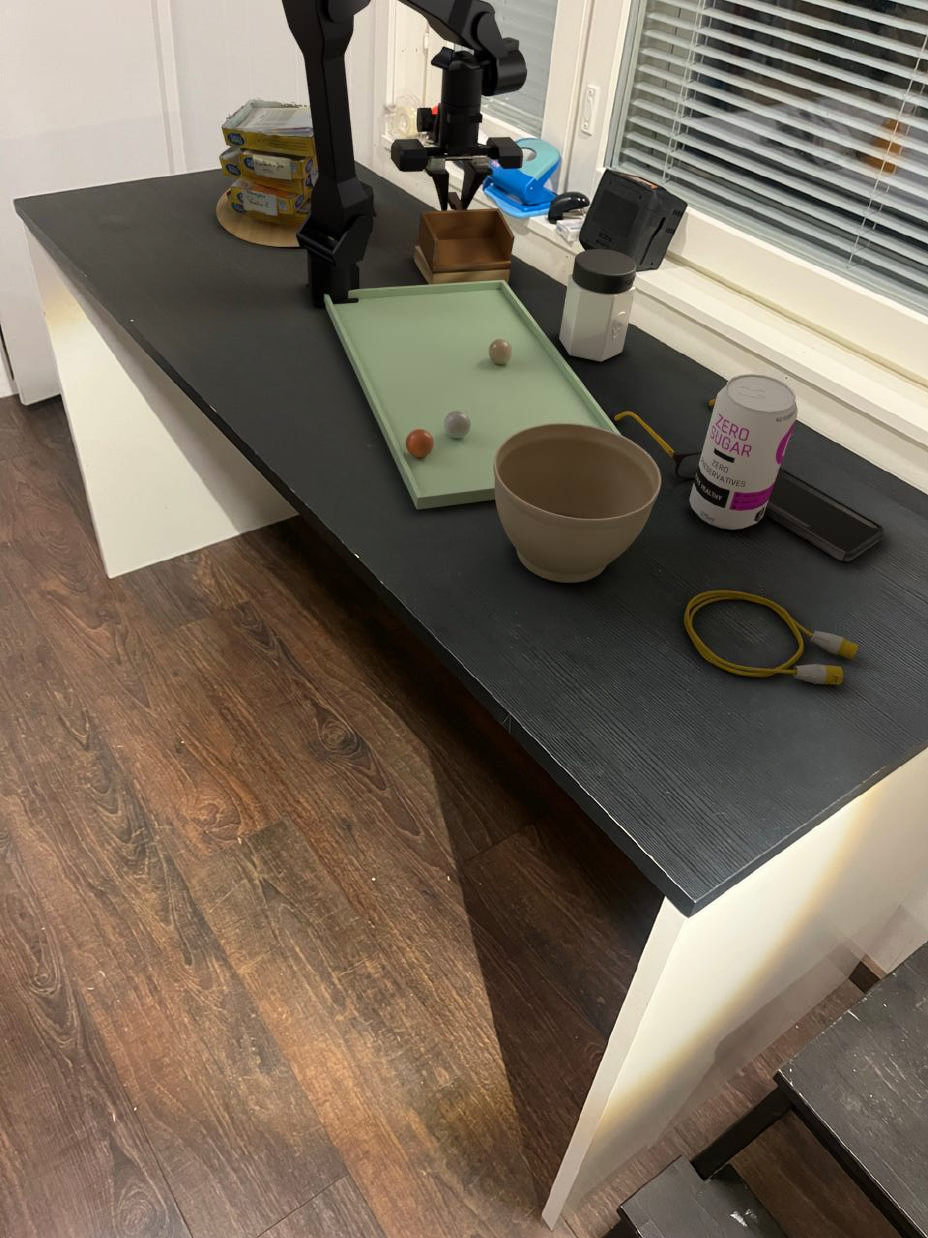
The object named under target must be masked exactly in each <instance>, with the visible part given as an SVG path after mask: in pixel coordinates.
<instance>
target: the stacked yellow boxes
mask: <svg viewBox="0 0 928 1238" xmlns="http://www.w3.org/2000/svg"><path fill="white" fill-rule="evenodd" d="M221 132H222V135H223V139H224V143H225V145H226V147H227V146H228V147H227V149H225V150H224V151H222V152H221V153H220V155H219V156H218V159H219V163H220V166H221V170H222V174H223V175H224V176H227V177H230V178H234V179H235V180H234V181H233V182H232V184H230V187H229V188H228V189H226V191H224V193H223V194H222V195H221V196H220V198H219V200H218V201H217V204H216V209H215V213H216V214H215V215H216V218H217V221H218V222H219V224H220V225H221V226H222V227H223V228H224V229H225V230H226V231H227V232H228V233H229V234H230V235H231V234H232V235H233V236H235V237H236V238H239V239H241V240H244V241H246V242H250V243H254V244H258V245H263V246H269V247H278V248H282V247H283V248H287V247H288V248H290V247H291V248H293V247H300V246H299V244H298V241H297V238H296V233H297V231H298V230H299V228H300V226H301V225H302V223H303V222H304V220H305V219H306V217H307V215H308V214H309V212H310V211H311V192H312V189H313V187H314V185H315V182H316V180H317V177H318V166H317V158H316V150H315V142H314V134H313V126H312V118H311V110H310V104H309V105H306V104H303V105H302V104H296V102H295V101H294V102H293V101H291V103H287V102H285V103H283V102H281V101H275V100H273V101H271V100H266V101H265V100H263V99H260V97H258V98H254V99H253V98H252V99H248V100H247V102H246V103H244V105H241V106H240V107H239V109H237V110H236V111H235V112H233V113H232V115H228V117H226V120H225V121H224V123H223V124H221ZM329 238H330V237H329ZM331 239H332V238H331ZM333 240H334V239H333ZM334 241H335V240H334Z"/></svg>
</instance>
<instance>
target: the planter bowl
mask: <svg viewBox="0 0 928 1238" xmlns="http://www.w3.org/2000/svg"><path fill="white" fill-rule="evenodd" d="M621 435H622V434H621ZM621 435H619V434H617V433H614V432H612V431H609V430H606V429H603V428H599V427H595V426H590V425H584V424H576V423H549V424H541V425H536V426H532V427H529V428H526V429H523V430H521V431H519V432H517V433H515V434H513V435H511V436H510V437H509V438H507V439H506V440H505V441H504V442H503V443H502V444H501V445H500V446H499V448H498V449H497V451H496V453H495V457H494V465H493V470H494V477H495V500H494V501H495V506H496V510H497V514H498V517H499V520H500V523H501V525H502V528H503V530H504V533H505V534H506V536H507V538H508V539H509V541H510V543H511V544H512V545H513V547H514V548H515V549H516V554H517V557H518V559H519V561H520V562H521V564H522V565H523V566H524V567H525V568H526V569H527V570H529V571H530V572H531V573H533V574H534V575H536V576H538V577H540V578H543V579H546V580H548V581H551V582H557V583H563V584H564V583H566V584H574V583H581V582H582V583H583V582H585V581H590V580H592V579H593V578H595V577H597V576H599V575H600V574H602V573H603V571H604V570H605V569H606V567H607V566H608V565H609V564H610V563H612V562H614V561H615V560H616V559H617V558H619V557H621V555H622V554H623V553H624V552H626V550H628V548H629V547H630V546H631V545H632V544H633V543H634V541H635V540H636V539H637V538H638V536H639V535H640V534H641V532H642V531H643V529H644V527H645V526H646V523H647V521H648V519H649V517H650V514H651V513H652V509H653V506H654V504H655V503H656V501H657V499H658V497H659V494H660V490H661V487H662V474H661V471H660V468H659V465H658V464H657V463H656V461H655V460H654V458H653V457H652V456H651V455H650V454H649V452H647V451H646V450H645V449H644V448H643V447H642V446H640V445H638V443H636V442H634V441H632V440H631V439H629V438H628V437H625V436H624V435H622V436H621Z"/></svg>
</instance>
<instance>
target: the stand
mask: <svg viewBox="0 0 928 1238" xmlns="http://www.w3.org/2000/svg"><path fill="white" fill-rule="evenodd" d="M413 258H414V259H413V260H414V264H415V265H416V266H417V268H418V269H419V271H420V272H421V275H423V278H424V279H425V281H426V282H427V285H431V284H447V283H462V282H478V281H493V280H504V281H505V282H506V283H507V285H508V286H509V281H510V280H509V279H510V270H511V269H507V270H491V271H475V272H458V273H442V274H432V272H431V270H430V267H429V265H428V263H427V261H426V259H425V257H424V254H423V252H422V250H421V248H420V246H419V245H414V255H413Z"/></svg>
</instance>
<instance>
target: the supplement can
mask: <svg viewBox="0 0 928 1238" xmlns="http://www.w3.org/2000/svg"><path fill="white" fill-rule="evenodd" d="M796 398H797V395H796V394H795V392H794V389H792V388H791V387H790V386H789V385H788V384H787V383H785V382H783V381H781V380H779V379H778V378H775V377H771V376H768V375H764V374H756V373H747V374H746V373H745V374H740V375H737V376H734V377H731V378H730V379H729V380H728V381H727V382H726V384H725V386H724V387H723V388H722V389H721V390H720V391H719V392H717V395H716V398H715V399H716V402H715V405H713V406H714V407H713V410H712V412H711V413H712V414H711V416H710V417H711V418H710V421H709V425H708V427H707V431H706V435H705V440H704V443H703V447H702V450H701V451H702V454H700V457H699V461H698V466H697V469H696V472H695V475H694V476H695V479H693V483H692V488H691V492H690V496H689V499H688V501H689V503H690V506H691V507H690V508H691V509H692V510H693V511H694V512H695V514H696V515H697V516H698V517H699V518H700V519H701V520H702V521H704V522H705V523H707V524H708V525H710V526H714V527H716V528H719V529H722V530H723V529H724V530H731V531H733V530H741V529H742V530H743V529H746V528H748V527H751V526H753V525H755V524H758V522H759V521H760V520H761V519H763V517H764V515H765V514H764V511H765V509H766V506H767V503H768V500H769V497H770V494H771V491H772V488H773V485H774V482H775V479H776V476H777V474H778V471H779V468H781V464H782V462H783V459H784V456H785V453H786V450H787V447H788V444H789V441H790V439H791V435H792V433H793V430H794V426H795V424H796V421H797V418H798V412H799V409H798V405H797V401H796Z"/></svg>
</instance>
